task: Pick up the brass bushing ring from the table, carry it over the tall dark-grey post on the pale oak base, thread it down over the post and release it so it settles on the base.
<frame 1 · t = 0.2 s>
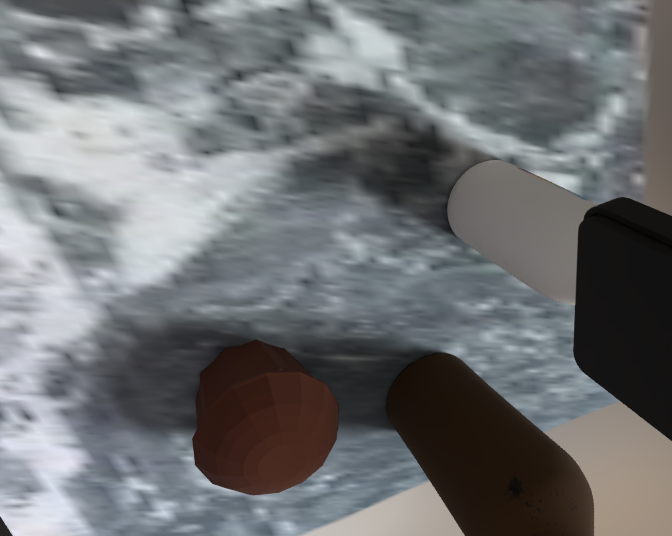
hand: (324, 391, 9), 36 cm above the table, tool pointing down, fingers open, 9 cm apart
muffin: (245, 383, 54), on the table
milk bottle: (480, 199, 55), on the table
olive oil: (426, 392, 63), on the table
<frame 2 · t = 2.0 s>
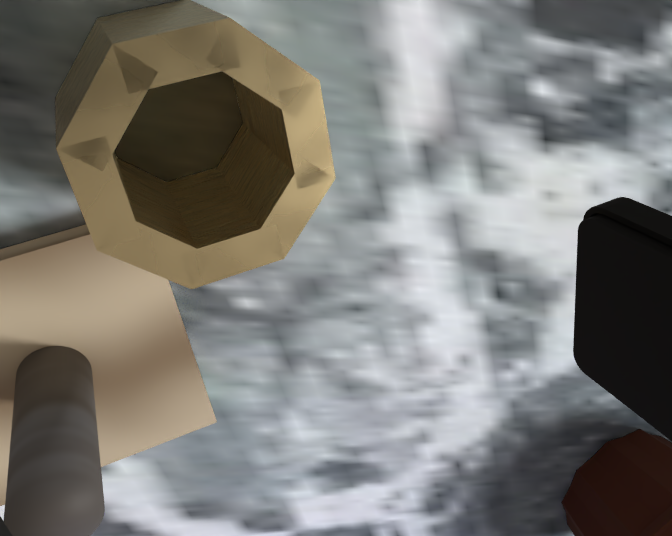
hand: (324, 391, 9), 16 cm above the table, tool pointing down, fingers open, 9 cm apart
muffin: (611, 478, 44), on the table
brass ring: (173, 114, 22), on the table
post stand: (54, 360, 24), on the table
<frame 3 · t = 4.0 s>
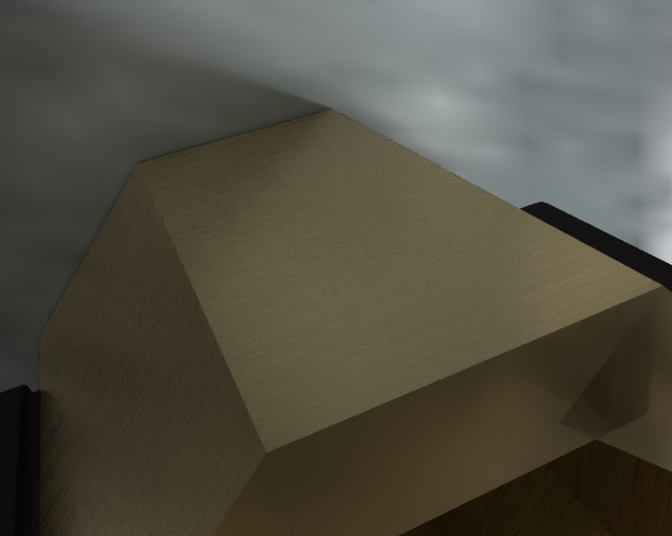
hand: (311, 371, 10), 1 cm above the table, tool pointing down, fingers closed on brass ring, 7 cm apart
brass ring: (287, 333, 11), on the table, touching gripper
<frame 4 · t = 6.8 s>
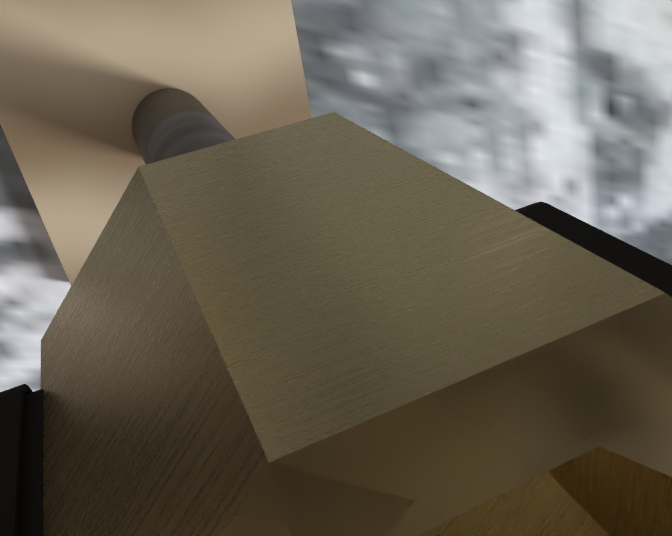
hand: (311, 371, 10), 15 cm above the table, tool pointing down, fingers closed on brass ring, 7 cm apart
brass ring: (288, 336, 11), point 14 cm above the table, touching gripper
post stand: (167, 120, 22), on the table
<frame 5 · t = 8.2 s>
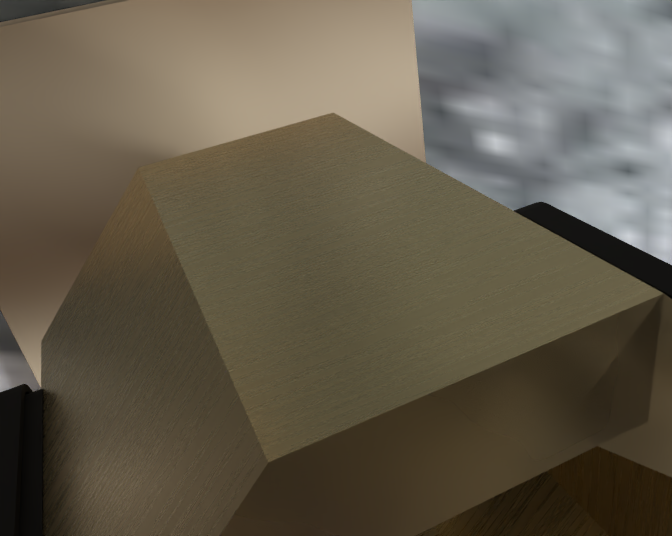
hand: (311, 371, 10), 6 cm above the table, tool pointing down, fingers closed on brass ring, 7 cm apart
brass ring: (288, 336, 11), point 5 cm above the table, touching gripper
post stand: (221, 214, 15), on the table
when the fingers open (5 cm above the table, at t = 9.4 s): brass ring drops 3 cm, resting on post stand.
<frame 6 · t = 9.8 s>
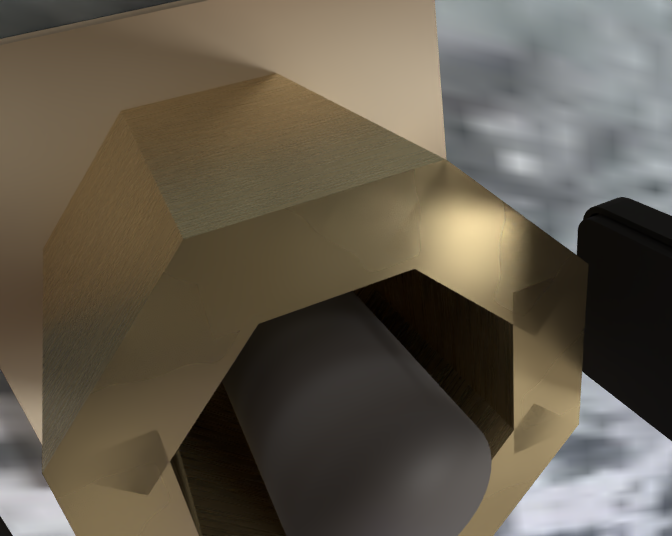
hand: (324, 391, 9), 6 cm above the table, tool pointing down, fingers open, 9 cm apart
brass ring: (243, 258, 13), point 1 cm above the table, touching post stand
post stand: (229, 243, 14), on the table
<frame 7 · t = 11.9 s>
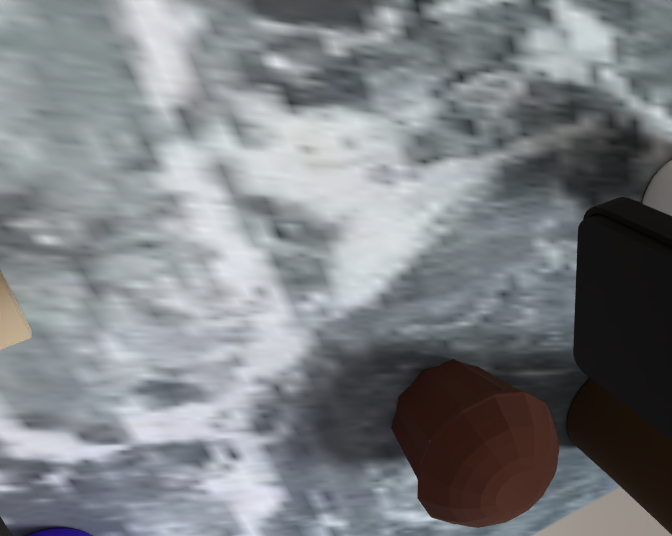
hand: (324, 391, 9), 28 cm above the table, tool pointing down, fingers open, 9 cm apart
muffin: (438, 406, 51), on the table
milk bottle: (671, 197, 52), on the table
olive oil: (603, 404, 59), on the table
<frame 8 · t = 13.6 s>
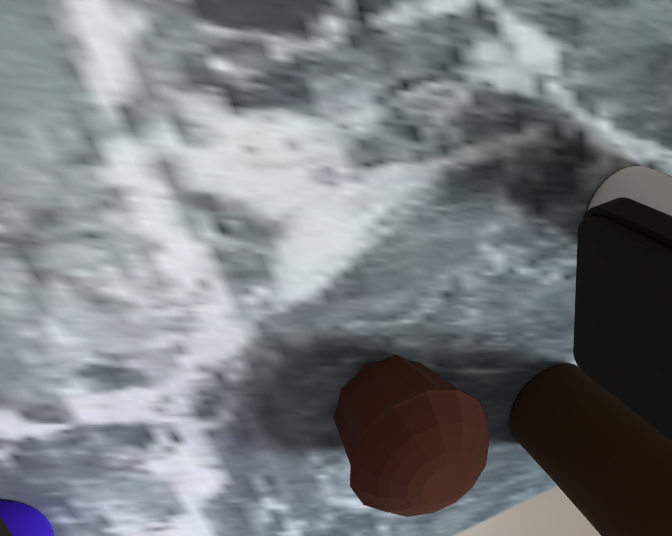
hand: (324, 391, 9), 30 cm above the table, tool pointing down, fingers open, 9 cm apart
muffin: (381, 399, 53), on the table
milk bottle: (617, 207, 54), on the table
olive oil: (547, 403, 61), on the table
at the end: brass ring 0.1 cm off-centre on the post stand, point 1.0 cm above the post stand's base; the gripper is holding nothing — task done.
